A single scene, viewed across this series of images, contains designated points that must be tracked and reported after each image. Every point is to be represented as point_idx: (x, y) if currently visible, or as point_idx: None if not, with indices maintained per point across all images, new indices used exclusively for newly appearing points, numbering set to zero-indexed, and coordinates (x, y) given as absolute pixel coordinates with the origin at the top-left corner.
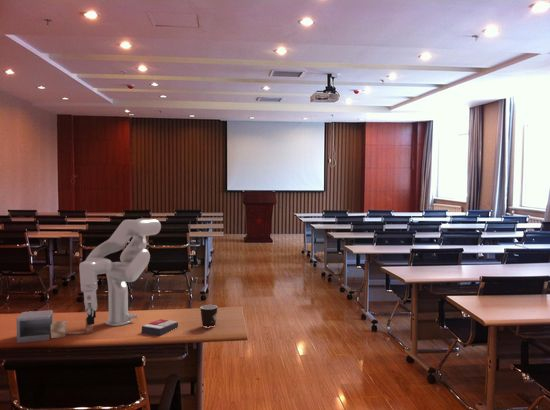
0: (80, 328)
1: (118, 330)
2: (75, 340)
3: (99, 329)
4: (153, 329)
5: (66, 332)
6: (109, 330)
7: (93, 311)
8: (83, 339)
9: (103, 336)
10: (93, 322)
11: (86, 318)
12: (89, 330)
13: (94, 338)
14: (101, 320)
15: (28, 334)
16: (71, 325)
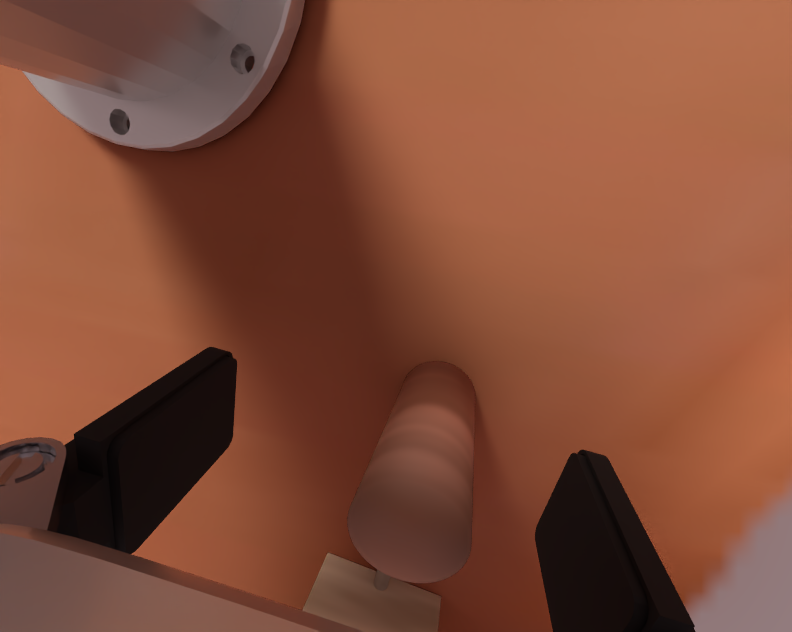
0: (236, 425)
1: (544, 10)
2: None
3: (355, 265)
4: None
5: (332, 561)
6: (465, 151)
7: (144, 457)
8: (657, 502)
9: (709, 281)
10: (610, 487)
11: (374, 561)
12: (474, 421)
13: (713, 398)
14: (19, 176)
15: None
16: None
